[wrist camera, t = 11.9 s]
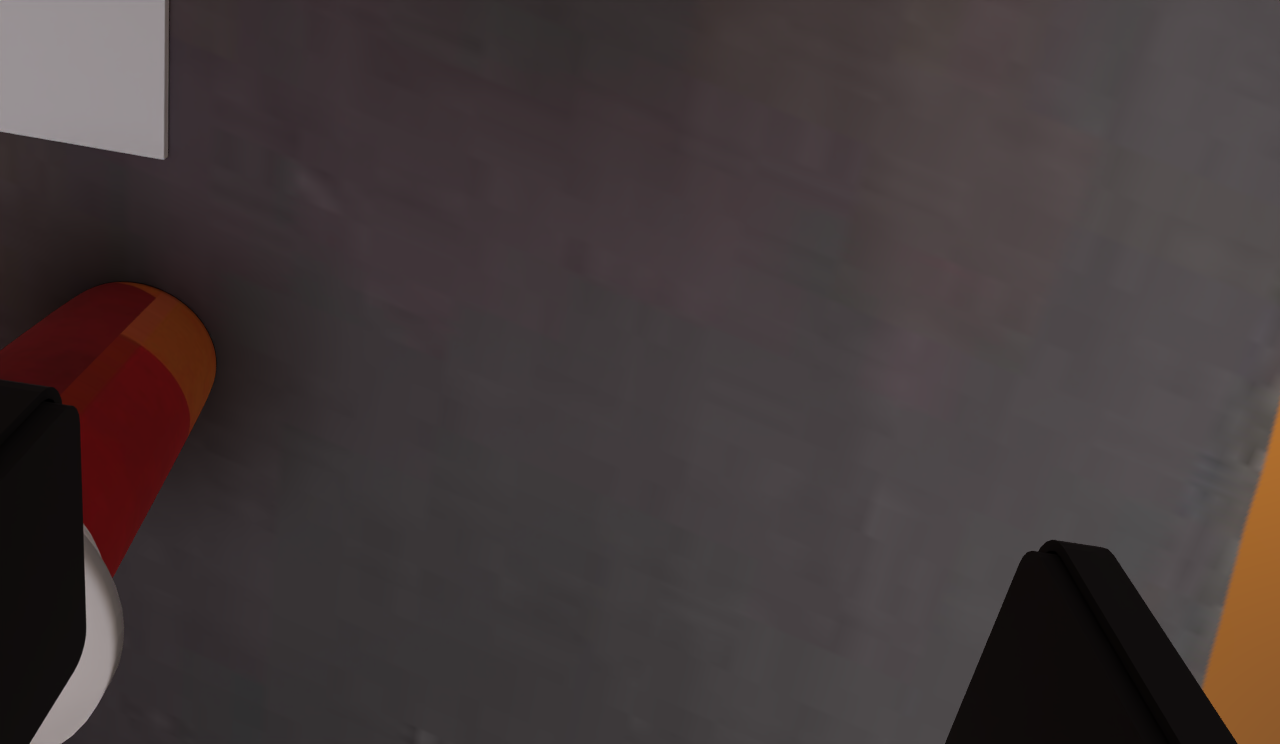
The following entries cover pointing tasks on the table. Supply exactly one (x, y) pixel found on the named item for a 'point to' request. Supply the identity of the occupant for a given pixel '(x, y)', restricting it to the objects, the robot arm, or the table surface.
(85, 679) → the lid
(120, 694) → the table surface
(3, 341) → the table surface
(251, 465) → the table surface
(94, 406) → the coffee cup
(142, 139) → the mat
